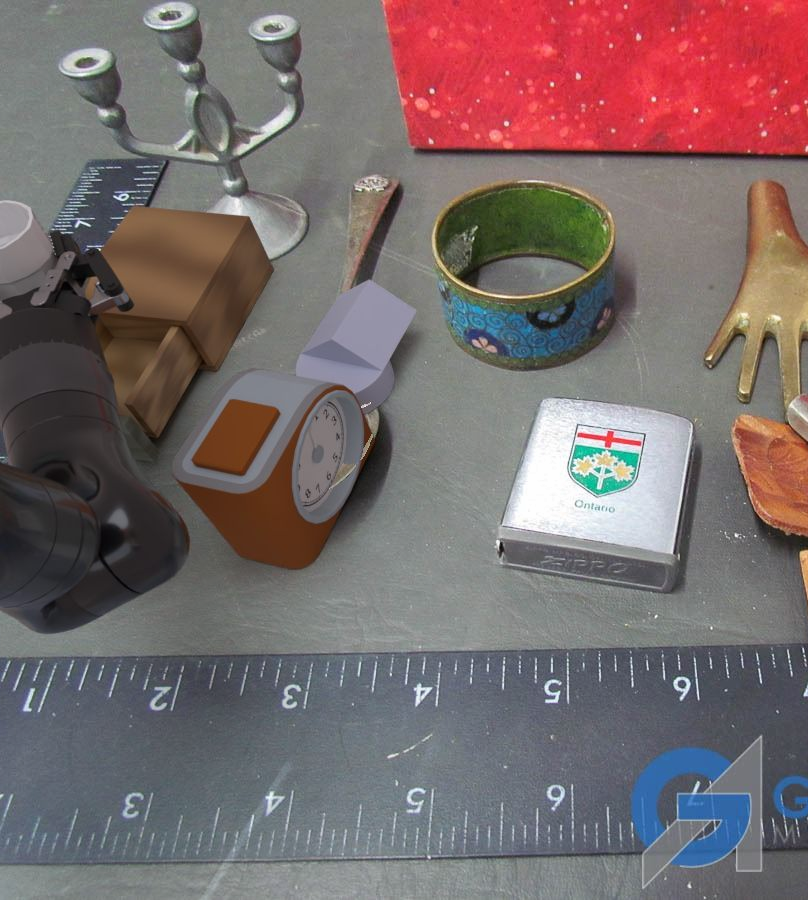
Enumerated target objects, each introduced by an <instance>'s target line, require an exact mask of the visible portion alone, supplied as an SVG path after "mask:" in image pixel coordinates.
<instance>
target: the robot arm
mask: <svg viewBox="0 0 808 900" xmlns="http://www.w3.org/2000/svg"><path fill="white" fill-rule="evenodd" d="M49 237H50V239H51V242H52V246H53V251H54V253H55V254H56V256H57V257H58V259H59V260H58V262H57V264H56V266H55V268H54V269H51V270H48V271H47V273H46V275H45V277H44V280H43V282H42V284H41V286H40V287H38V288H35V289H33V290H31V291H29V292H27V293H25V294H23V295H18V296H13V297H10V298H7V299H4V300H2V302H3V303H1V302H0V431H1V434H2V439H3V444H4V449H5V454H6V459H7V463H8V464H7V463H4V462H0V612H2V613H4V614H5V615H8V616H9V617H11V618H13V619H14V620H16V621H17V622H18V623H20V624H21V625H23V626H24V627H25V628H27V629H29V630H30V631H32V632H34V633H37V634H42V635H56V634H61V633H65V632H69V631H73V630H76V629H80V628H81V627H84V626H86V625H88V624H90V623H92V622H94V621H96V620H98V619H101V618H102V617H104V616H105V615H108V614H109V613H111V612H113V611H115V610H117V609H119V608H120V607H122V606H124V605H127V604H128V603H130V602H132V601H134V600H136V599H138V598H140V597H142V596H143V595H145V594H147V593H149V592H151V591H153V590H155V589H157V588H159V587H161V586H162V585H164V584H166V583H168V582H169V581H171V580H173V579H174V578H175V577H176V576H178V575H179V574H180V573H181V571H182V570H183V569H184V567H185V565H186V563H187V561H188V559H189V554H190V550H191V537H190V533H189V530H188V527H187V524H186V522H185V520H184V519H183V518H182V516H181V515H180V514H179V512H178V511H177V510H176V507H174V506H173V505H172V504H171V502H170V501H169V500H168V499H167V498H166V496H165V495H163V494H162V493H161V491H159V490H158V488H157V487H156V486H155V485H154V483H152V482H151V481H150V479H149V478H148V477H147V475H146V474H145V472H144V471H143V470H142V468H141V467H140V465H139V464H138V461H137V459H134V457H133V455H132V453H131V451H130V448H129V446H128V442H127V440H126V437H125V434H124V431H123V427H122V424H121V421H120V418H119V413H118V402H117V396H116V392H115V388H114V384H115V383H114V379H113V377H112V374H111V373H110V371H109V369H108V366H107V363H106V360H105V357H104V354H103V350H102V347H101V344H100V341H99V338H98V335H97V332H96V324H97V322H98V319H99V314H101V313H103V312H105V311H107V310H109V309H112V308H114V307H116V306H117V308H118V309H119V311H121V312H127V311H129V310H131V309H132V308H133V307H134V303H133V301H132V300H131V298H130V297H129V295H128V293H127V292H126V290H125V289H124V287H123V285H122V284H121V282H120V281H119V279H118V277H117V276H116V274H115V273H114V271H113V270H112V268H111V267H110V265H109V264H108V262H107V261H106V259H105V258H104V256H103V255H102V253H101V252H100V249H99V248H97V247H91V248H89V249H87V250H85V251H84V253H82V250H81V248H80V246H79V245H78V243H77V242H76V240H75V239H74V238H73V236H72V235H71V234H70V233H68V232H67V233H64V234H62V232H61V231H60V230H59V229H56V230H54V231H51V232H49ZM91 277H97V278H98V280H97V281H95V282H94V285H95V286H96V288H95V289H94V296H93V297H92V298H91V299H90V300H88V299H87V298H86V294H85V290H86V288H87V286H88V283H89V281H90V278H91Z"/></svg>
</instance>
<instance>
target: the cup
mask: <svg viewBox="0 0 808 900" xmlns="http://www.w3.org/2000/svg"><path fill="white" fill-rule="evenodd" d="M58 260H59V259H58V257H57V256H56V253H55V250H54V246H53V243H52V239H51V236H50V234H48V232H47V231H46V228H44V225H43V224H42V223H41V222H40V220H39V218H38V217H37V214H36V213H35V212H34V210H33V209H32V207H30V206H29V205H26V204H25V203H23V202H21V201H14V200H9V199H5V200H0V303H3V302H2V300H4V299H7V298H10V297H13V296H18V295H23V294H25V293H27V292H29V291H31V290H33V289H35V288H38V287H40V286H41V284H42V282H43V280H44V277H45V275H46V273H47V271H48V270H51V269H54V268H55V266H56V264H57V262H58Z"/></svg>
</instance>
